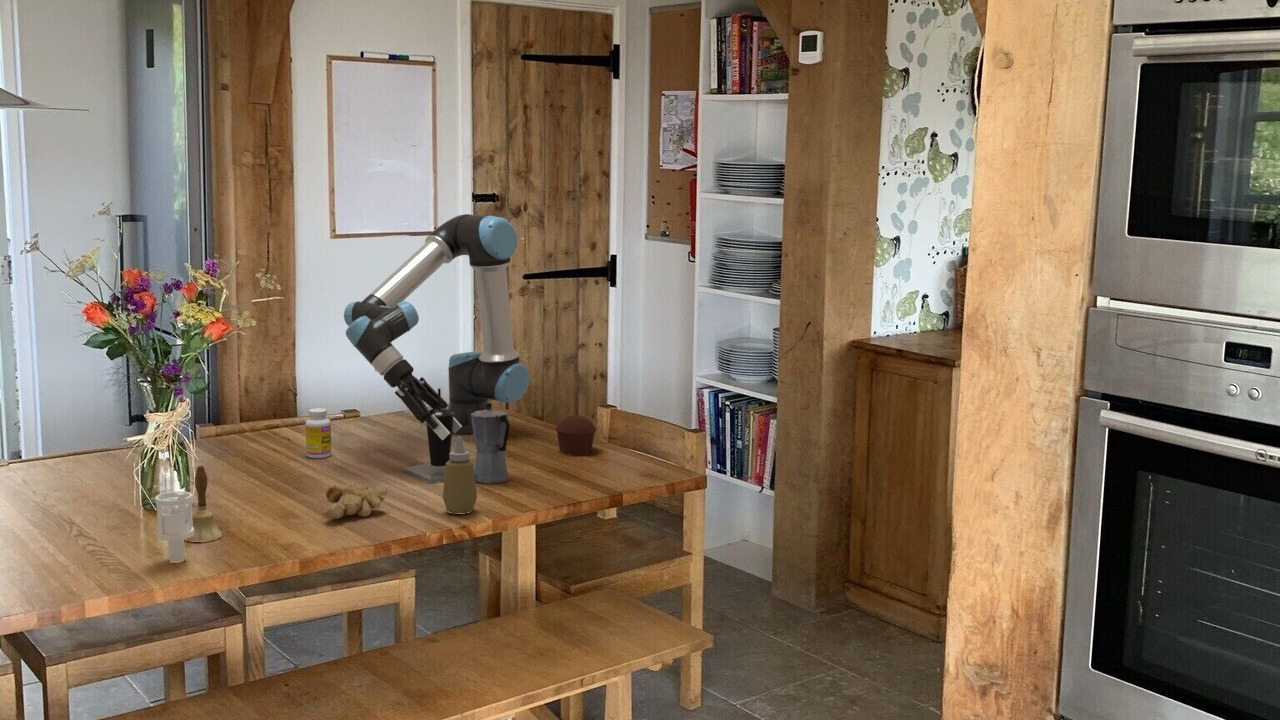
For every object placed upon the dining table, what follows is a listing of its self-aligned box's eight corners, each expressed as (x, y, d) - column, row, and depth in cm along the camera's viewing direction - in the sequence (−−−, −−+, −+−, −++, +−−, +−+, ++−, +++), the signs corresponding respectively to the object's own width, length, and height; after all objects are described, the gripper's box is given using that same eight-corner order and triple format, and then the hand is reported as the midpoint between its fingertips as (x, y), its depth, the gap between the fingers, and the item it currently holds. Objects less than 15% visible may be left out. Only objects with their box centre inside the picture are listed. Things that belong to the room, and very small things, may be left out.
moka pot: (489, 471, 329) (488, 396, 325) (526, 483, 318) (526, 406, 314) (459, 477, 322) (458, 401, 319) (496, 490, 311) (496, 411, 308)
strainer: (169, 569, 252) (165, 497, 249) (152, 561, 257) (148, 490, 254) (202, 561, 257) (198, 490, 255) (184, 553, 262) (181, 483, 259)
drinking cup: (458, 460, 329) (457, 386, 326) (450, 468, 322) (450, 392, 318) (429, 459, 330) (428, 385, 326) (421, 467, 322) (420, 391, 319)
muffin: (599, 455, 346) (600, 420, 344) (560, 457, 344) (560, 422, 342) (590, 445, 358) (591, 411, 356) (552, 447, 355) (552, 412, 353)
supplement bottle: (322, 460, 337) (321, 413, 335) (301, 457, 339) (300, 411, 337) (336, 454, 344) (335, 408, 341) (315, 452, 346) (314, 406, 343)
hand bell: (230, 532, 276) (227, 462, 273) (211, 544, 268) (208, 472, 265) (195, 530, 277) (191, 460, 274) (175, 541, 269) (171, 470, 266)
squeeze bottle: (446, 506, 297) (445, 432, 294) (479, 507, 297) (479, 433, 294) (439, 516, 289) (438, 440, 286) (474, 517, 289) (473, 441, 286)
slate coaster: (449, 463, 336) (449, 459, 336) (477, 474, 325) (477, 470, 325) (403, 471, 327) (402, 468, 327) (430, 483, 316) (430, 479, 316)
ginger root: (375, 493, 302) (375, 464, 299) (394, 526, 290) (394, 496, 286) (310, 503, 296) (309, 473, 292) (326, 537, 283) (325, 507, 280)
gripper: (401, 370, 335) (458, 433, 334) (366, 384, 316) (426, 451, 315) (419, 351, 333) (476, 415, 332) (385, 364, 314) (446, 432, 313)
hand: (452, 433), depth 323 cm, fingers closed on drinking cup, 7 cm apart
